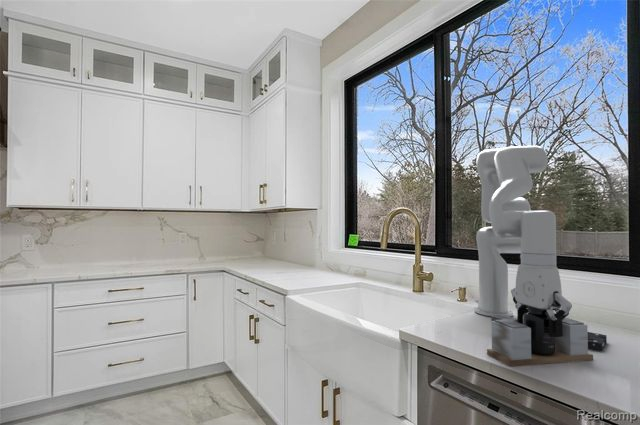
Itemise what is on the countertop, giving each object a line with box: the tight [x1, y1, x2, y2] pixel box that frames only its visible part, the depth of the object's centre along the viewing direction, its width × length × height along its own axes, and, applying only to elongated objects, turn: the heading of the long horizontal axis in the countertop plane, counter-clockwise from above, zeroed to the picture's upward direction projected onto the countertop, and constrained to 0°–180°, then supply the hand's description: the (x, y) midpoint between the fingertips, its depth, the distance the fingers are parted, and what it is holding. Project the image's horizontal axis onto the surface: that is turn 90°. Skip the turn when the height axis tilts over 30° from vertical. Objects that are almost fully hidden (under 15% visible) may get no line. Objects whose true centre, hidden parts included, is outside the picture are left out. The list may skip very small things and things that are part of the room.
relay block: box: [491, 315, 517, 322], centre depth 105 cm, size 6×4×5 cm, turn 32°
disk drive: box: [588, 331, 608, 352], centre depth 100 cm, size 10×3×15 cm
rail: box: [486, 316, 594, 367], centre depth 87 cm, size 8×23×9 cm, turn 102°
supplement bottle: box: [523, 306, 555, 356], centre depth 87 cm, size 7×7×12 cm
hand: (538, 330), depth 87 cm, fingers open, 9 cm apart
